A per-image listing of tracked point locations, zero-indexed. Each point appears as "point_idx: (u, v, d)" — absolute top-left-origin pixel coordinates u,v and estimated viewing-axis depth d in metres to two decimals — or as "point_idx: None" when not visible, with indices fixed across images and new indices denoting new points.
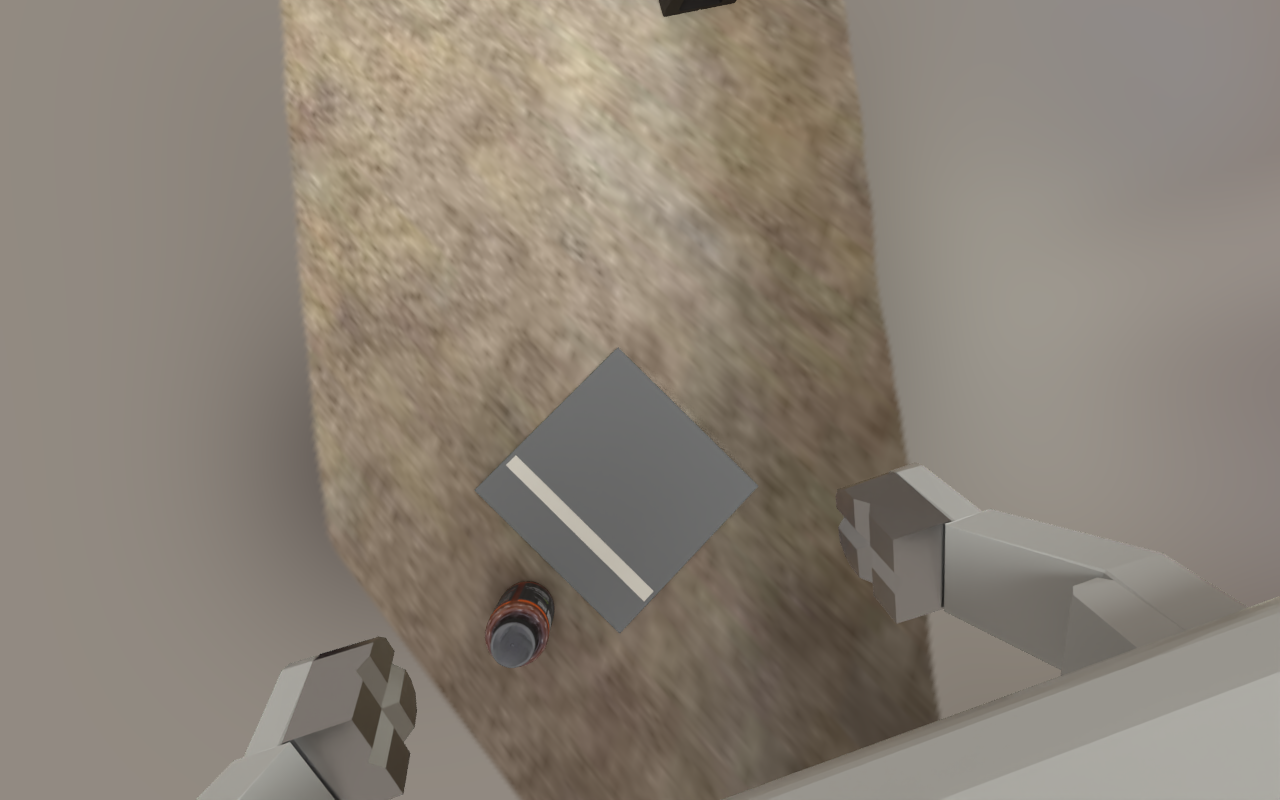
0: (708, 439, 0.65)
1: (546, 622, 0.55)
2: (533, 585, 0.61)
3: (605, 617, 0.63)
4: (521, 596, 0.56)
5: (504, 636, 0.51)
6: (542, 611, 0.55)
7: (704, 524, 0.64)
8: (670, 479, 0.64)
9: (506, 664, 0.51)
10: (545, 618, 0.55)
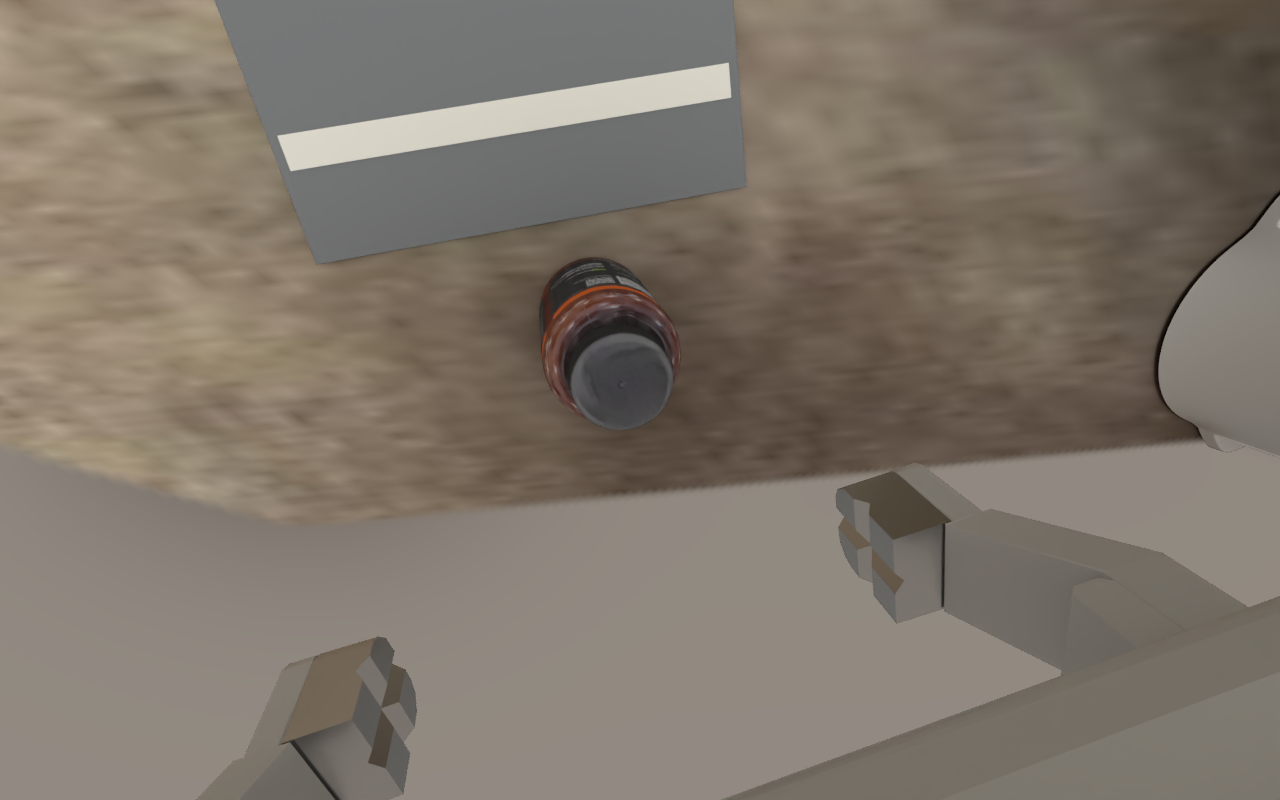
0: None
1: (631, 292, 0.24)
2: (560, 274, 0.29)
3: (703, 191, 0.30)
4: (554, 306, 0.25)
5: (594, 388, 0.22)
6: (607, 286, 0.24)
7: None
8: None
9: (649, 414, 0.23)
10: (623, 289, 0.24)
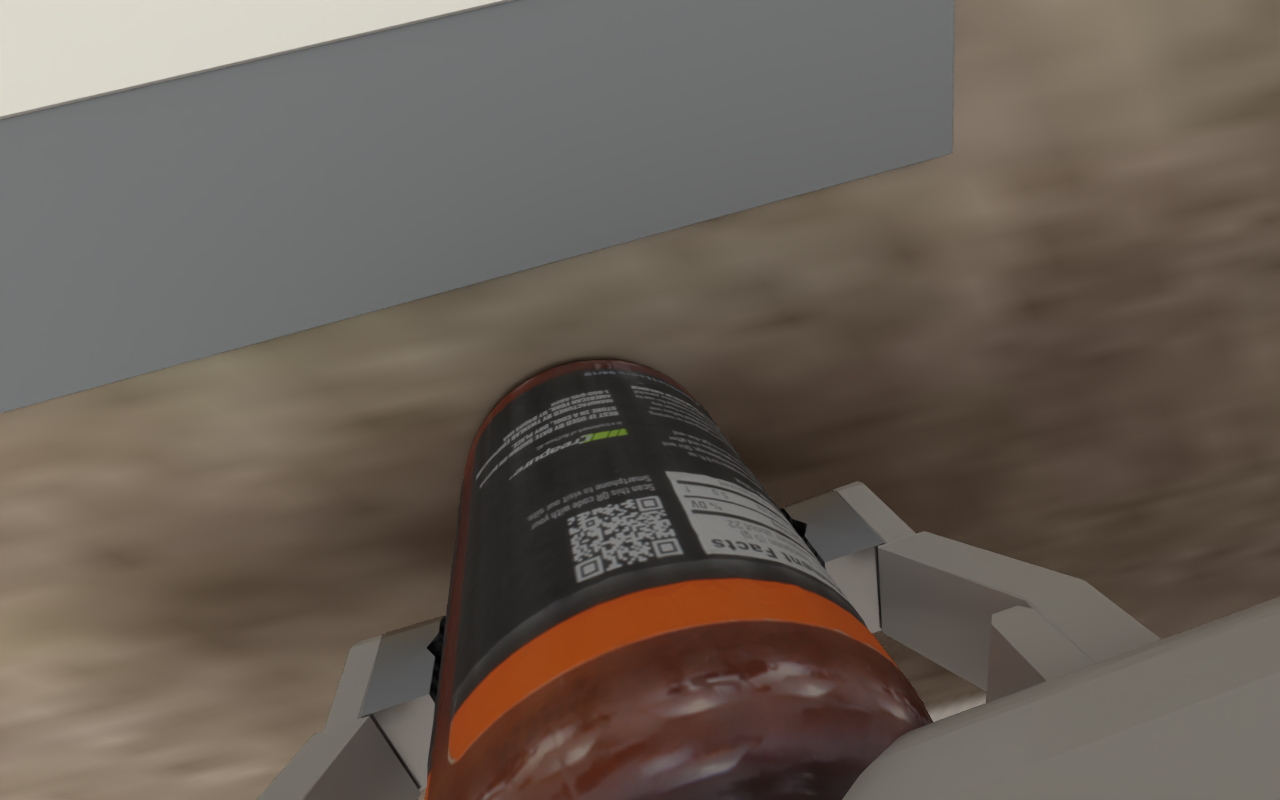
0: None
1: (773, 642, 0.05)
2: (501, 426, 0.11)
3: (849, 173, 0.12)
4: (464, 633, 0.07)
5: None
6: (659, 601, 0.06)
7: None
8: None
9: None
10: (733, 626, 0.06)
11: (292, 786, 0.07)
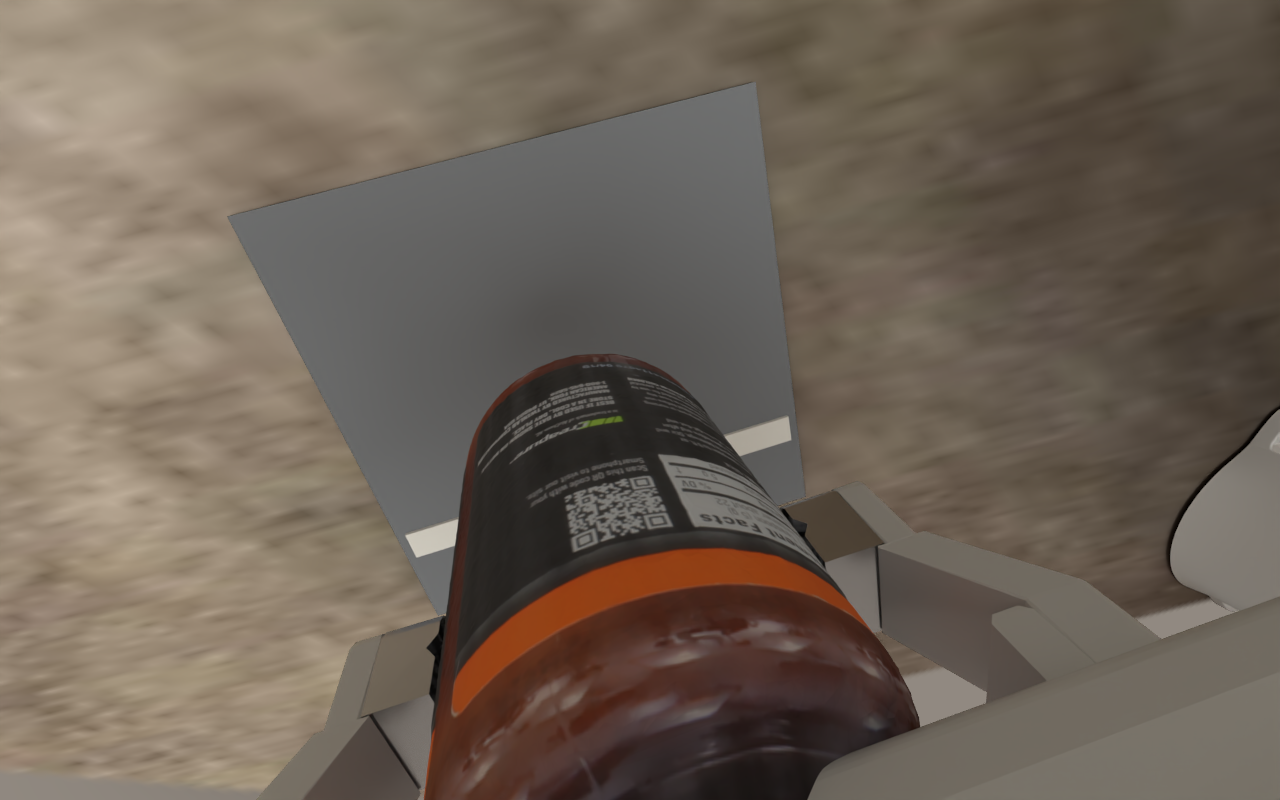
0: (583, 131, 0.24)
1: (754, 603, 0.06)
2: (502, 415, 0.11)
3: None
4: (466, 603, 0.07)
5: None
6: (649, 567, 0.06)
7: (747, 258, 0.28)
8: (619, 274, 0.27)
9: None
10: (717, 589, 0.06)
11: (292, 786, 0.07)
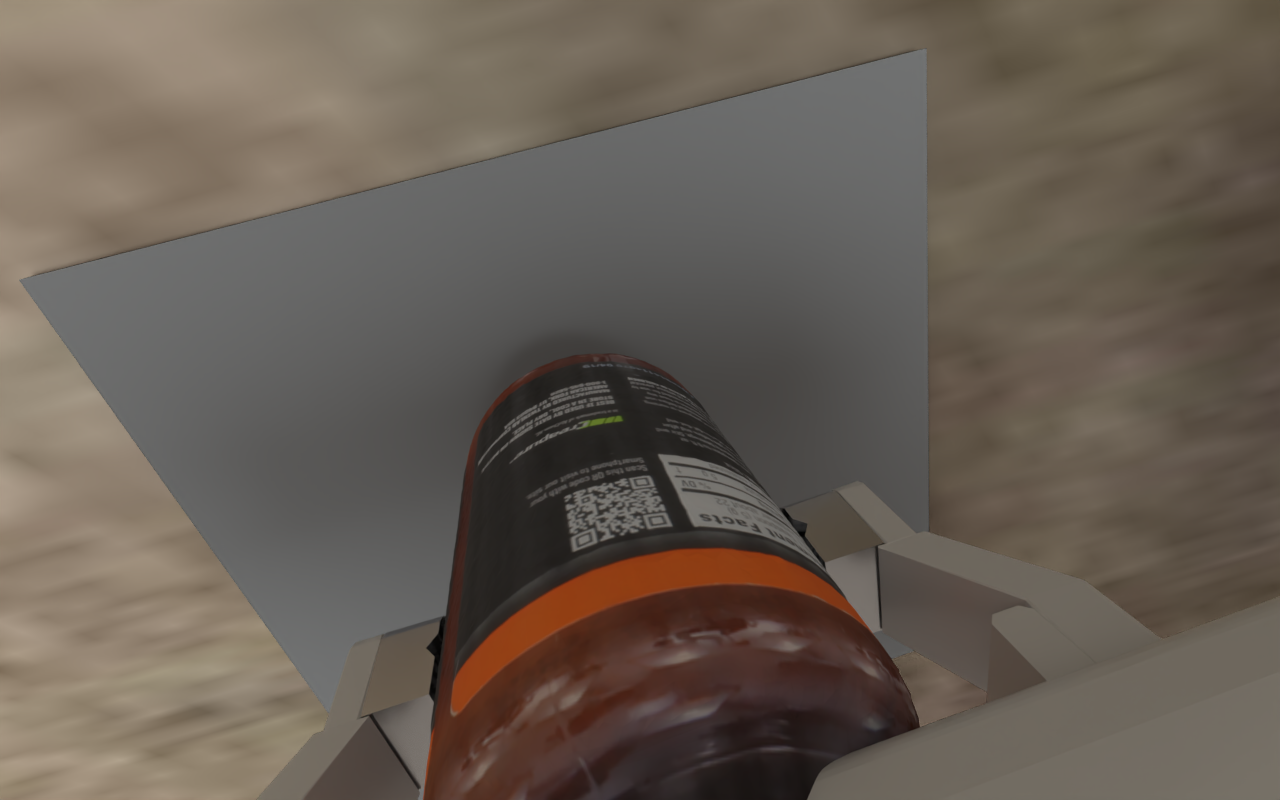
0: (641, 130, 0.14)
1: (753, 603, 0.06)
2: (502, 415, 0.11)
3: None
4: (466, 602, 0.07)
5: None
6: (648, 567, 0.06)
7: (885, 328, 0.18)
8: (689, 357, 0.17)
9: None
10: (717, 589, 0.06)
11: (292, 786, 0.07)
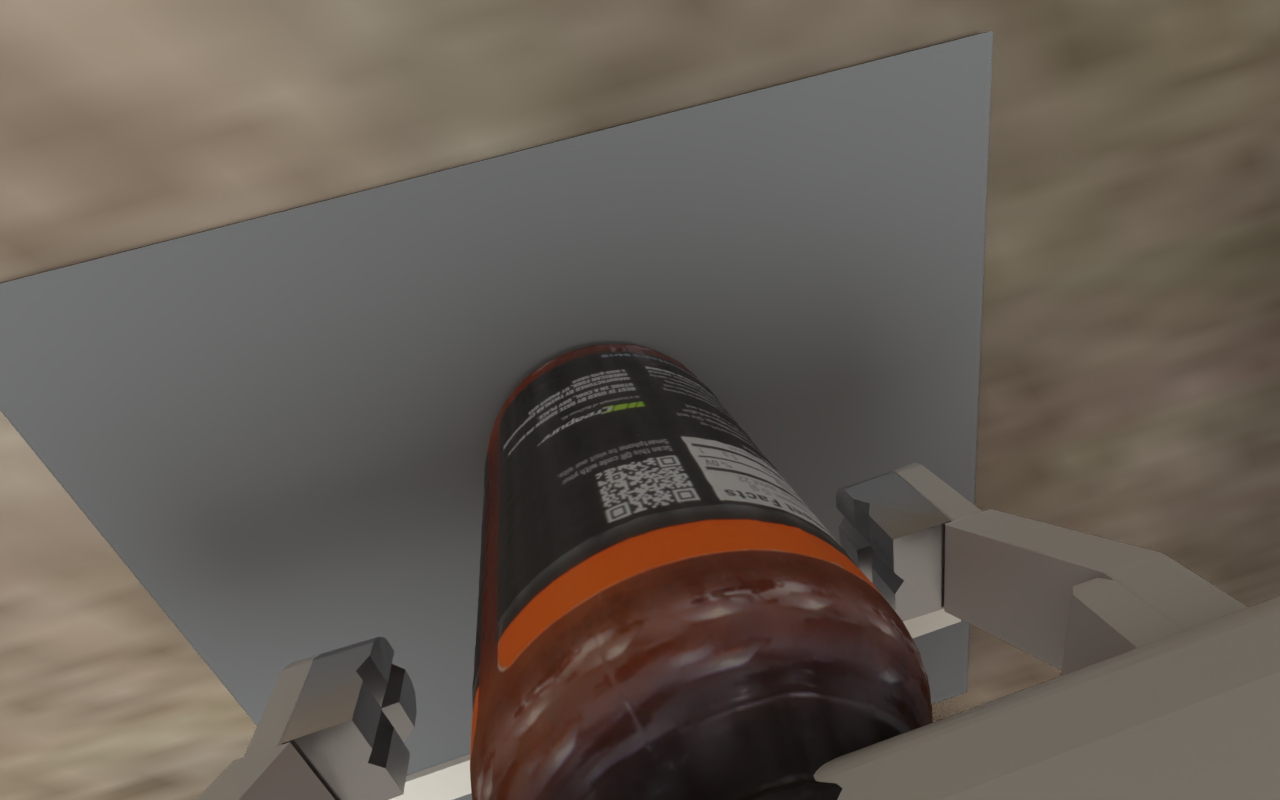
0: (661, 126, 0.12)
1: (779, 567, 0.06)
2: (525, 402, 0.12)
3: None
4: (504, 572, 0.08)
5: None
6: (681, 535, 0.07)
7: (933, 352, 0.16)
8: (712, 387, 0.15)
9: None
10: (745, 554, 0.06)
11: None
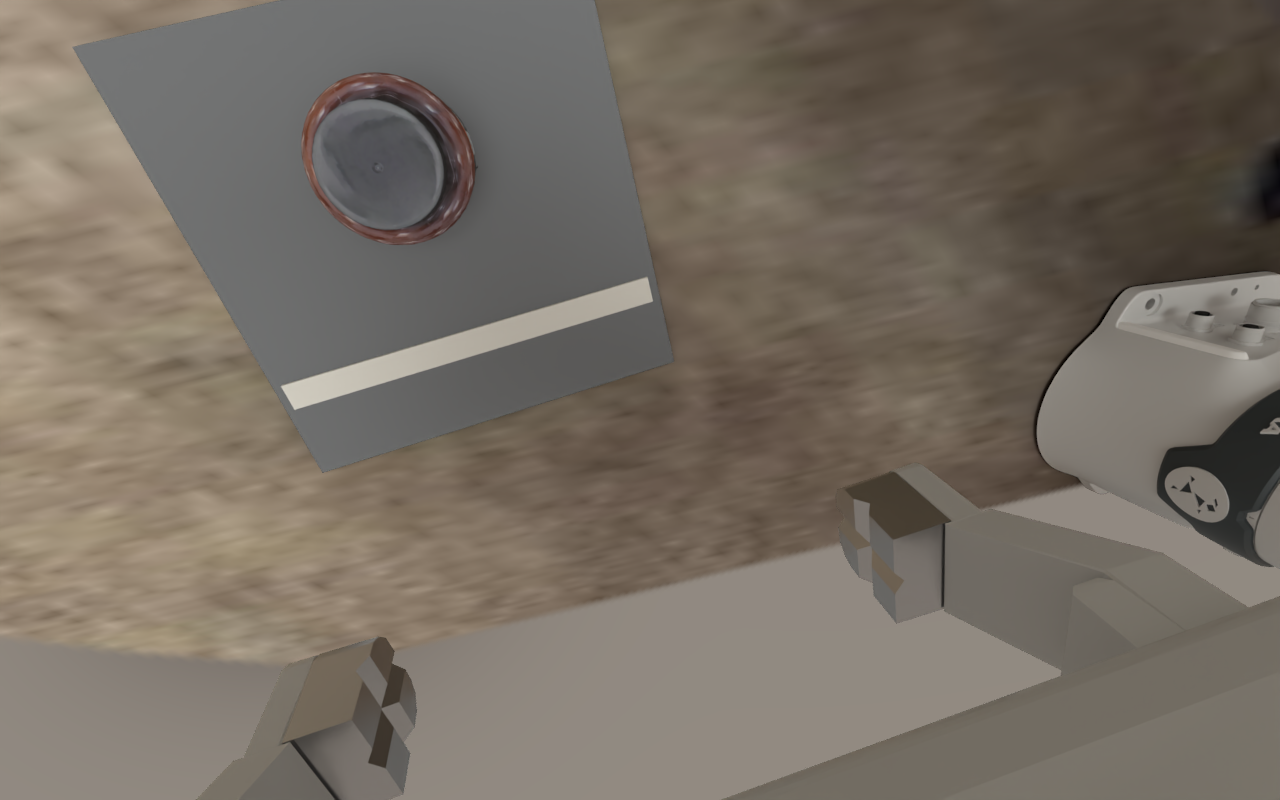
0: None
1: (396, 75, 0.20)
2: None
3: (639, 370, 0.36)
4: None
5: (344, 173, 0.19)
6: None
7: (591, 112, 0.30)
8: (467, 124, 0.29)
9: (420, 207, 0.19)
10: (386, 73, 0.20)
11: None
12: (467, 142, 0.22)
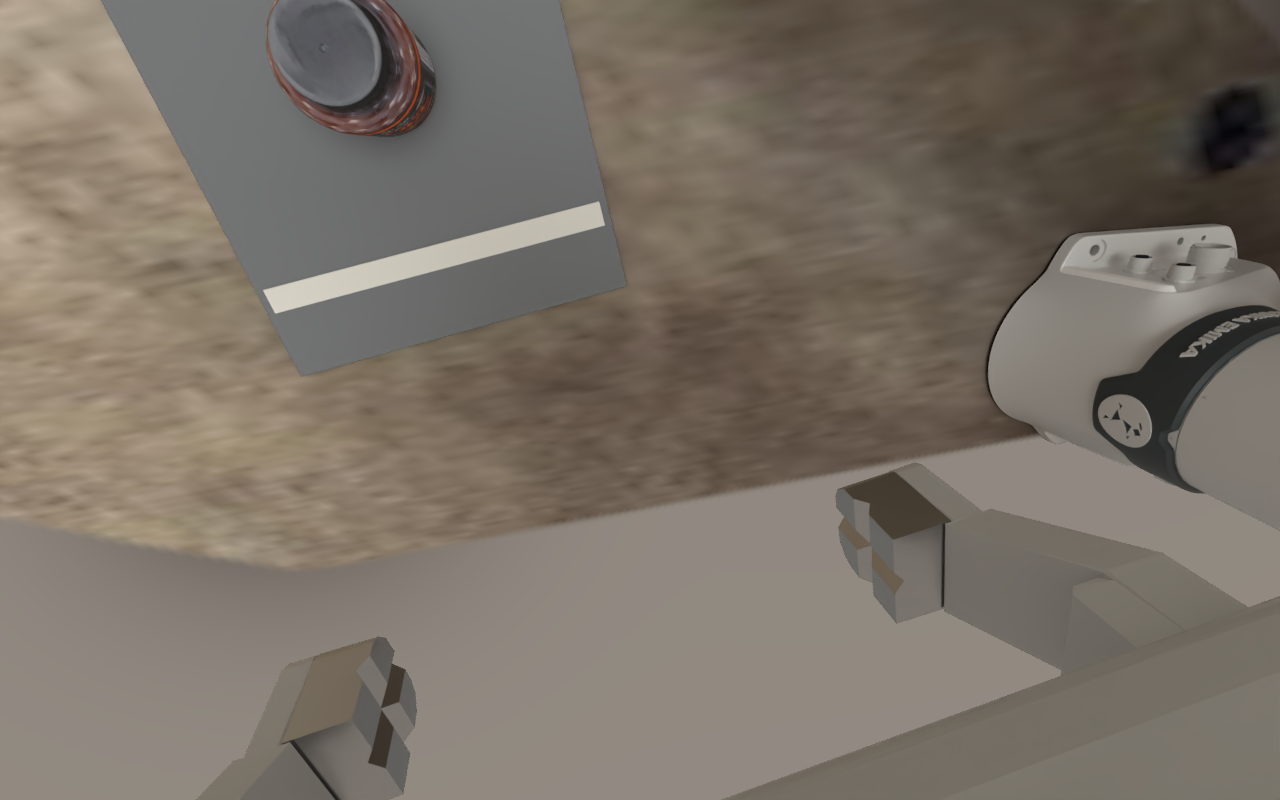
0: None
1: None
2: None
3: (593, 292, 0.39)
4: None
5: (294, 51, 0.22)
6: None
7: (543, 42, 0.33)
8: (430, 49, 0.32)
9: (361, 86, 0.23)
10: None
11: None
12: (410, 41, 0.25)
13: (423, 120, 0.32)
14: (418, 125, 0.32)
